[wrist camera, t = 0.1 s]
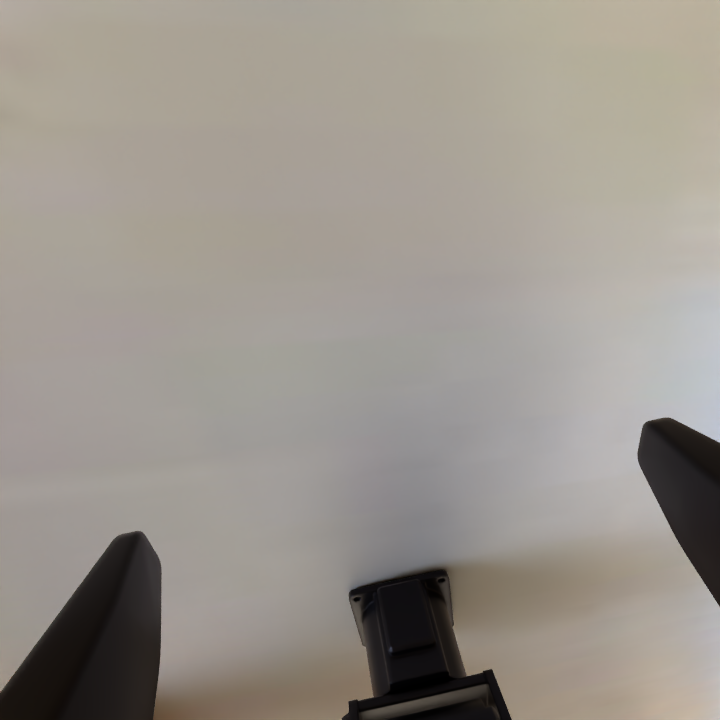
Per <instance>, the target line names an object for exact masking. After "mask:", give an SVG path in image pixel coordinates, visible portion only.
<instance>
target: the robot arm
mask: <svg viewBox="0 0 720 720" xmlns="http://www.w3.org/2000/svg"><path fill="white" fill-rule="evenodd" d="M638 462H639V465H640V467H641V469H642V471H643V473H644V475H645V477H646V479H647V481H648V483H649V485H650V487H651V489H652V491H653V493H654V495H655V497H656V499H657V501H658V503H659V505H660V507H661V509H662V511H663V513H664V515H665V517H666V519H667V521H668V523H669V525H670V527H671V529H672V531H673V533H674V535H675V537H676V538H677V540H678V542H679V544H680V545H681V547H682V549H683V550H684V552H685V553H686V555H687V557H688V558H689V560H690V561H691V563H692V564H693V566H694V567H695V569H696V571H697V572H698V574H699V575H700V577H701V578H702V580H703V581H704V583H705V584H706V586H707V588H708V589H709V591H710V592H711V594H712V595H713V597H714V598H715V600H716V602H717V603H718V605H719V606H720V443H719V442H717V441H715V440H713V439H711V438H709V437H707V436H705V435H703V434H701V433H699V432H697V431H695V430H693V429H691V428H689V427H688V426H686V425H684V424H682V423H680V422H678V421H676V420H674V419H671V418H660V419H656V420H651V421H647V422H646V423H645V424H644V425H643V428H642V433H641V438H640V443H639V448H638ZM349 601H350V604H351V608H352V611H353V614H354V618H355V621H356V625H357V628H358V631H359V635H360V638H361V642H362V645H363V646H365V647H366V651H367V657H368V664H369V670H370V677H371V683H372V690H373V696H374V697H373V698H369V699H364V700H360V701H358V700H352V701H349V702H348V703H349V713H348V714H346V715H345V716H344V717H343V718H342V720H512V719H511V717H510V714H509V712H508V709H507V706H506V704H505V701H504V699H503V696H502V694H501V691H500V688H499V686H498V683H497V681H496V678H495V676H494V673H493V670H492V669H489V670H485V671H483V673H480V674H475V675H471V676H466V672H465V669H464V666H463V662H462V659H461V655H460V652H459V648H458V645H457V641H456V638H455V634H454V631H453V625H454V621H453V612H452V602H451V592H450V583H449V577H448V574H447V572H446V571H444V570H440V571H435V572H430V573H426V574H421V575H417V576H412V577H408V578H403V579H399V580H394V581H390V582H385V583H381V584H376V585H372V586H367V587H363V588H358V589H354V590H352V591H350V592H349ZM160 649H161V564H160V560H159V558H158V556H157V554H156V552H155V551H154V549H153V547H152V546H151V544H150V542H149V541H148V539H147V537H146V536H145V534H144V533H143V532H141V531H135V532H130V533H126V534H121V535H119V536H117V537H116V538H115V539H114V540H113V541H112V542H111V544H110V545H109V547H108V548H107V549H106V551H105V552H104V553H103V555H102V556H101V557H100V559H99V560H98V561H97V563H96V564H95V565H94V567H93V568H92V570H91V571H90V572H89V574H88V575H87V576H86V578H85V579H84V580H83V582H82V583H81V584H80V586H79V587H78V588H77V590H76V591H75V592H74V594H73V595H72V597H71V598H70V599H69V601H68V602H67V603H66V605H65V606H64V607H63V609H62V610H61V611H60V613H59V614H58V615H57V617H56V618H55V620H54V621H53V622H52V624H51V625H50V626H49V628H48V629H47V630H46V632H45V633H44V634H43V636H42V637H41V638H40V640H39V641H38V643H37V644H36V645H35V647H34V648H33V649H32V651H31V652H30V653H29V655H28V656H27V657H26V659H25V660H24V661H23V663H22V664H21V666H20V667H19V668H18V670H17V671H16V672H15V674H14V675H13V676H12V678H11V679H10V680H9V682H8V683H7V684H6V686H5V687H4V688H3V690H2V691H1V693H0V720H153V715H154V707H155V699H156V691H157V682H158V674H159V664H160Z"/></svg>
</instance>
